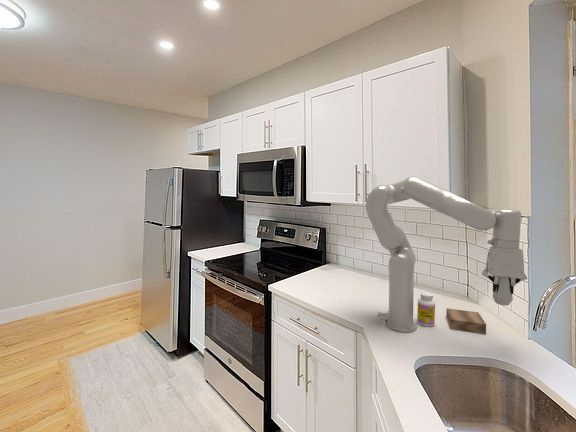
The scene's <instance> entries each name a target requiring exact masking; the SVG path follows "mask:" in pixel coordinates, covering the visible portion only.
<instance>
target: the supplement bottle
mask: <svg viewBox="0 0 576 432" xmlns="http://www.w3.org/2000/svg"><path fill="white" fill-rule="evenodd" d="M433 298H434V295H433V294H432V293H431V292H425V291H424V292H423V291H422V292H420V298H418V300H417V311H416V312H417V315H416V316H417V317H416V321H417V323H418V324H419V325H421V326H424V327H432V326H433V327H434V326H435V320H436V317H435V316H436V302H435V300H433Z"/></svg>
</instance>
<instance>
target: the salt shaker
mask: <svg viewBox="0 0 576 432" xmlns="http://www.w3.org/2000/svg"><path fill="white" fill-rule="evenodd" d="M498 285H499V289H498V292H497V287H496V291H495V292H493V291H492V298H493V300H494V303H495V304H497V305H500V306H507V307H508V306H509V305H510V304H511V302H512V301H513V300H514V299H513V298H514V297H513V295H512V296H511V292H510V279H509V278H508V277H499V280H498Z"/></svg>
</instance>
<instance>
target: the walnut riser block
mask: <svg viewBox="0 0 576 432" xmlns="http://www.w3.org/2000/svg"><path fill="white" fill-rule="evenodd" d="M445 311H446V314H445V317H446V319H447V322H448V325H449V329H450V330H455V331H461V332H469V333H473V334H474V333H475V334H482V335H486V334H487V324H486V322H485V320H484V319H483V317H482V316H481V314H480V312H477V311H470V310H461V309H454V308H446V310H445Z"/></svg>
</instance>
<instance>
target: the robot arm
mask: <svg viewBox="0 0 576 432" xmlns="http://www.w3.org/2000/svg"><path fill="white" fill-rule="evenodd" d="M408 200H412V201H415V202H417V203H420V204H421V205H423V206H426V207H428V208H429V209H432V210H433V211H436V212H437V213H440V214H443V215H445V216H448V217H450V218H452V219H454V220H456V221H458V222H460V223H462V224H464V225H467V226H468V227H471V228H473V229H474V230H477V231H483V232H484V231H489V230H491V229H492V238H491V239H489V240H487V244H488V245H491V246H489V248H488V251H487V252H488V253H487V257H486V258H487V259H486V263H485V264H486V265H485V268H484V269H483V270H482V271H481V275H482V276H483V277H485V278H487V279H488V280H489V281H491V282H492V293H493V292H495V291H496V287H497V292H498V289H499V285H498V280H499V277H508V278H509V279H510V292H511V296H512V297H513V295H514V287H516V285H517V284H519V283H520V282H522V281H526V280H528V277H527V275H526V273H525V259H524V251H523V249H521V248H520V239H521V223H522V213H521V211H520V210H518V209H511V208H509V209H507V208H505V209H504V208H501V209H493V208H492V209H491V208H485V207H482V206H480V205H479V204H476V203H473V202H471V201H468V200H466V199H465V198H462V197H460V196H458V195H456V194H455V193H453V192H451V191H449V190H447V189H444V188H442V187H440V186H437V185H435V184H434V183H430V182H429V181H427V180H423V179H422V178H419V177H416V176H409V177H406V178H405V179H404V180H402V181H398V182H395V183H391V184H381V185H377V186H375V187H374V188H373V189H372V190H371V191H370V193H369V194H368V196H367V197H366V200H365V212H366V214H367V216H368V219H369V221H370V223H371V226H372V228H373V230H374V232H375V235H376V236H377V239H378V242H379V244H380V245H381V246H382V248H384V249H385V250H388V253H389V254H390V257H389V260H388V267H387V268H388V311H387V312H380V311H378V312H377V318H379V319H381V320H384V325H385V326H386V327H387V328H388V329H390V330H393V331H395V332H399V333H413V332H415V331H416V330H417V329H418V325H417V323H416V322H415V321H414V293H415V291H414V290H415V289H414V287H415V285H414V284H415V280H414V279H415V277H414V276H415V275H414V274H415V264H416V259H417V258H416V254H415V252H414V250H413V247H412V246H411V243H410V242H409V239H408V238H407V236H406V234H405V232H404V230H403V229H402V228H401V227H399V226H398V225H396V224H395V222H394V220H393V217H392V216H391V213H390V212H389V209H388V206H389V205H392V204H396V203H400V202H404V201H408Z"/></svg>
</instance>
